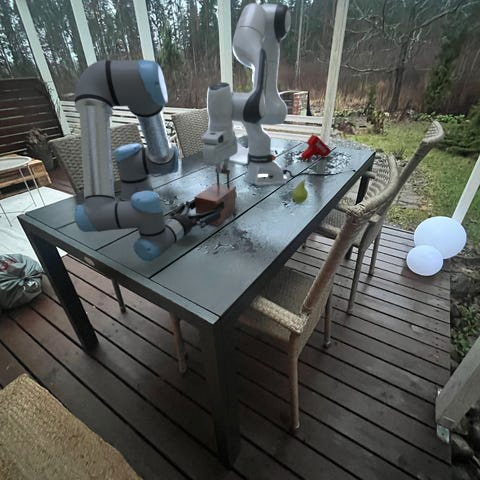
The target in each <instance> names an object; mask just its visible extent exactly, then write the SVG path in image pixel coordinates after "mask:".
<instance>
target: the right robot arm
mask: <svg viewBox="0 0 480 480" xmlns="http://www.w3.org/2000/svg"><path fill="white" fill-rule="evenodd" d="M235 23H236V24H235V25H236V27H235V31H234V35H233V39H232V52H233V55H234V57H235V58H236V60H237V61H238V62H240V63H241V65H243V66H245V67H248V68H250V69H251V70H252V75H251V81H252V90H251V91H249V92H236V91H233V90H232V87H231V84H230V83H228V82H224V81H223V82H214V83H211V84H210V85H209V86H208V88H207V97H206V98H207V99H206V107H207V115H208V129H207V130H206V132H205V133H203V135H202V136H201V144H202V145H203V146H202V156H203V163H204V164H205V166H210V167H215V169H216V168H217V172H218V173H219V174H222V173H221V172H223V169H227V170H229V164H230V161H229V160H230V157H231V156H233V155H235V154H236V153H237V151H238V146H237V143H238V137H237V135H236V132H235V131H234V123H233V122H240V123H241V124H242V126H243V127H244V129H245V132H246V134H247V135H246V136H247V141H248V143H247V144H248V147H249V152H248V155H247V163H248V164H247V171H246V175H245V177H244V179H245V180H244V181H245V182H246V183H249V184H252V185H255V186H257V187H267V186H279V185H286V184H288V182H289V181H288V180H289V179H288V177H287V176H286V175H287V174H289V177H290V178H295V177H299V176H303V175H304V176H305V175H308V176H309V175H310V176H317V177H318V176H319V177H328V176H336V175H339V174H342V172H339V171H338V172H339V173H336V172H335V173H336V174H332V173H314V174H309V173H310V172H299V173H298V174H295V175H293V173H292V171H291V170H290V169H289V170H288V169H287V168H286V167H283V166H281V165H280V164H279V163H277V162H276V161H275V160H276V158H277V157H276V156H275V154H273V152H271V145H272V139H271V135H270V134H269V133H268V132H267V131H266V130H264V128H263V125H264V126H265V125H266V126H276V125H282V124H283V123H284V122H285V121H286V119H287V116H288V106H287V104H286V103H285V101H284V100H283V99H282V98H281V95H280V93H279V90H278V73H279V65H280V64H279V63H280V62H279V61H280V44H281V43H282V41H283V39H285V38H286V36H287V35H288V34H289V31H290V28H291V25H292V24H291V23H292V14H291V10H290V8H289V5H287V4H284V3H278V4H276V3H262V4H259V3H256V2H251V3H248V4H247V5H245V6H244V7H243V8H241V9H240V10H239V11H238V13H237V16H236V22H235ZM222 162H223V164H222ZM351 171H352V172H354V173H356V172H357V171H356V169H354V170H351ZM324 174H325V175H324Z"/></svg>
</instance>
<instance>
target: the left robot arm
mask: <svg viewBox="0 0 480 480" xmlns="http://www.w3.org/2000/svg"><path fill="white" fill-rule="evenodd" d="M168 100H169V99H168V90H167V86H166V80H165V77H164V74H163V70H162V68H161V66H160V64H159V63H158V62H157V61H155V60H150V59H149V60H147V59H144V58H143V59H127V60H126V59H124V60H123V59H122V60H121V59H119V60H118V59H117V60H115V59H114V60H112V59H111V60H108V59H101V60H97V61H94V62H93V63H92V64H90V65H89V66H87V68H85V70H84V71H83V72H82V74H81V76H80V77H79V79H78V81H77V84H76V86H75V90H74V109H75V111H76V112H77V113H78V114H79V127H80V144H81V146H80V147H81V163H82V177H83V178H82V181H83V186H81V187H80V188H79V189H78V191H81V190H83V195H84V196H83V197H84V203H82V204H78V205H77V206H76V207H75V209H74V212H73V213H74V216H73V217H74V221H75V225H76V226H77V229H79V230H80V231H81V232H83V233H93V232H97V233H100V232H108V231H116V230H117V231H118V230H129V229H137V231H138V233H139V237H138V238H136V240H135V241H134V242H133V248H132V249H133V251H134V253H135V255H136V256H137V257H138V258H139V259H140V260H141V261H144V262H146V263H150V262H153V261H154V260H156V259H158V258H159V257H161V256H162V255H163V254H164V253H165V252H167V250H169V249H170V248H171V247H173V246H174V245H175V244H176V243H178V242H179V241H181V239H183V238H185V237H186V236H187V235H188V234H189V233H190V232H191V231H192V229H193V228H195V227H198V226H199V227H200V229H204V228H205V227H206V226H208V225H211V224H210V223H212V222H214V221H216V220H218V219H220V218H221V212H222V210H223V209H224V202H223V201H222V202H221V203H220V204H218V205H217V206H216V207H214V208H213V210H211V211H208V212H204V213H201V214H199V213H197V214H196V213H194V214H193V213H190V211H191V210H192V211H193V210H194V209H195V199H193V200H191V201H188V200H187V201H185V202H181V203H180V204H179V205H178V206H177V207H176V208H175V210H173V211H172V212H171V213H169V216H170V218H168V219H166V220H165V216H164V211H163V210H164V209H163V206H162V202H161V199H160V195H159V194H158V192H156V191H155V186H152V184H151V182H150V180H149V178H148V176H152V175H151V174H162V175H166V174H170V175H171V174H176V173H178V171H179V168H180V165H179V164H180V163H179V150H178V146H176V145H173V144H172V143H171V142H170V141H169V138H168V134H167V129H166V125H165V120H164V117H163V112H162V111H163V109H164V107H165V105H167V104H168V102H169V101H168ZM114 107H127V109H128V110H129V112H130V113H131V114H132V115H134V116H135V117H136V119H137V123H138V125H139V128H140V130H141V133H142V135H143V139H144V141H145V144H146V147H143V146H142V144H141V143H129V144H124V145H121V146H118V147H117V148H116V149H115V150H114V159H115V161H114V162H115V163H116V164H115V165H116V168H117V171H118V175H119V179H120V184H121V186H120V190H119V191H115V180H114V179H115V177H114V164H113V150H112V149H113V148H112V135H111V134H112V133H111V120H110V118H111V117H112V116H113V115H114ZM116 194H120V200H121V201H116ZM197 219H198V220H197Z"/></svg>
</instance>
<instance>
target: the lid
mask: <svg viewBox="0 0 480 480" xmlns="http://www.w3.org/2000/svg"><path fill="white" fill-rule="evenodd" d="M214 172H215V173H216V183H214V184H212V185H210V186H209V187H207V188H205V189H204V190H202V191H201V192H200V193H198V194H196V195H194V199H193V200H195V199H196V200H201V201H206V202H210V203H215V204H217V203H218V202H219V201H221V200H222V199H223V198H225V197H226V196H227V195H229V194H230V193H231V192H233V191H234V190H235V191H236V189H237V186H234V185H230V174H231V170H230V169H223V172H221V173H218V172H217V168H216V167H215V170H214ZM220 174H222V175H223V174H224V175H226V184H223V183H220Z"/></svg>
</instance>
